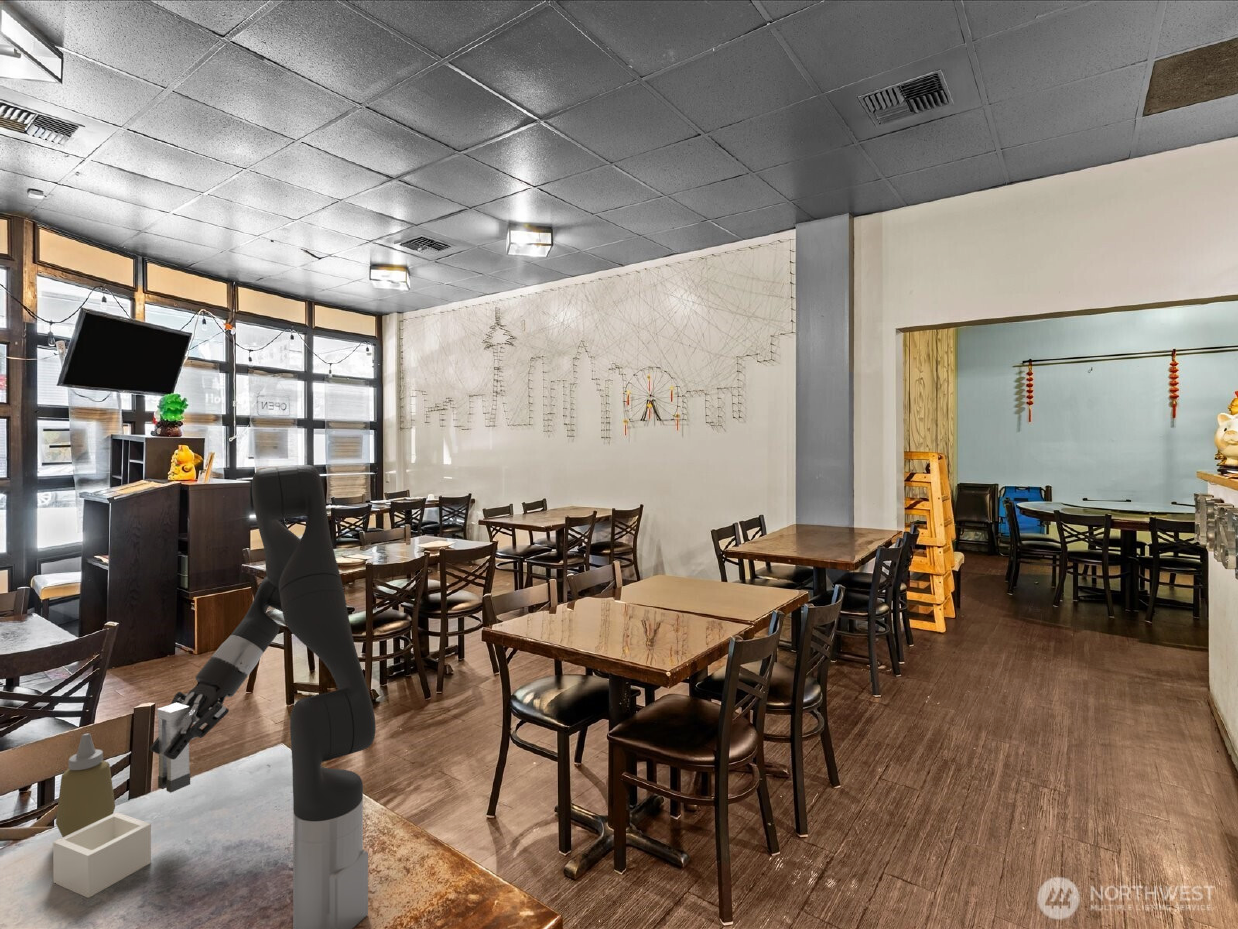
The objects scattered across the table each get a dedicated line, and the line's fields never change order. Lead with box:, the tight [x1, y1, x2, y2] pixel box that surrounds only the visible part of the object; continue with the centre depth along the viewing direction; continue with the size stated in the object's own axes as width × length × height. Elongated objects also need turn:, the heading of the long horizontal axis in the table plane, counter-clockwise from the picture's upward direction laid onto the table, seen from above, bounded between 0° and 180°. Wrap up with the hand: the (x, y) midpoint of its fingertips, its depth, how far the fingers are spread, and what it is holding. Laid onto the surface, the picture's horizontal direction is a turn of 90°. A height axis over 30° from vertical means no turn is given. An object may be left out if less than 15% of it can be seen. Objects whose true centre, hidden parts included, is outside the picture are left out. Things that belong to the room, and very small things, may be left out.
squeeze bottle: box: [55, 733, 116, 838], centre depth 111 cm, size 8×8×18 cm
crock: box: [52, 811, 152, 899], centre depth 102 cm, size 9×9×6 cm
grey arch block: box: [156, 703, 191, 794], centre depth 112 cm, size 4×3×14 cm
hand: (161, 754), depth 110 cm, fingers closed on grey arch block, 3 cm apart
